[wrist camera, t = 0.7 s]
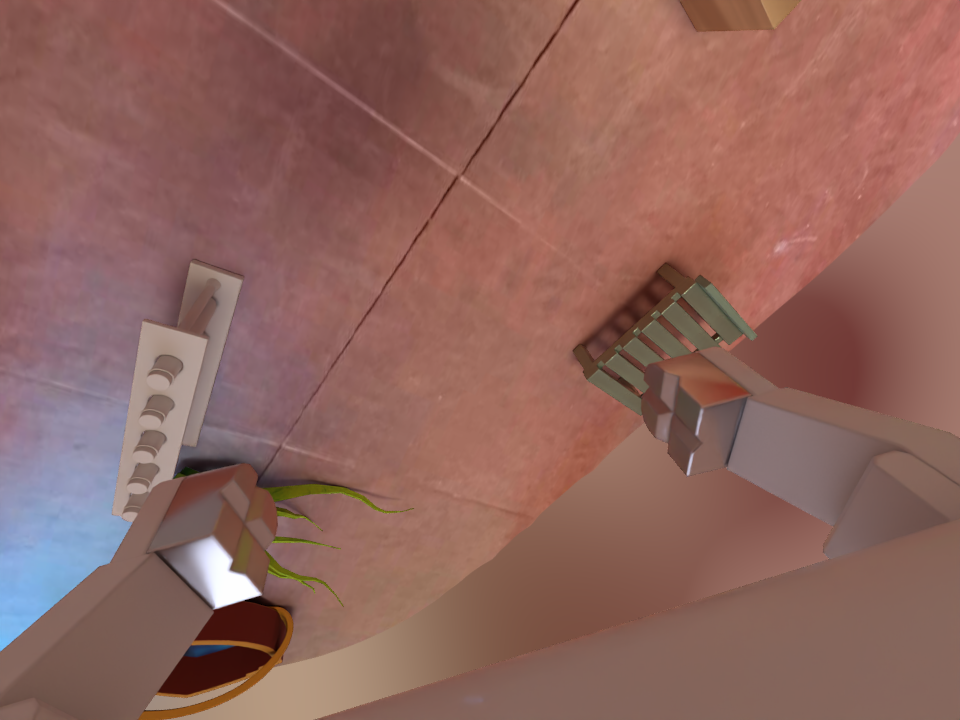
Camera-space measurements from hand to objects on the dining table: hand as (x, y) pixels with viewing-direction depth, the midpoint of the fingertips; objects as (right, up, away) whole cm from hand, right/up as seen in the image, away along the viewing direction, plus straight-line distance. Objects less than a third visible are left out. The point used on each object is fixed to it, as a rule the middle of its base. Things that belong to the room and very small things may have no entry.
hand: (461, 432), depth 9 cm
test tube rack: (-31, +1, +37) cm, 49 cm away
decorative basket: (-52, -46, +68) cm, 97 cm away
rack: (+22, +5, +47) cm, 52 cm away
